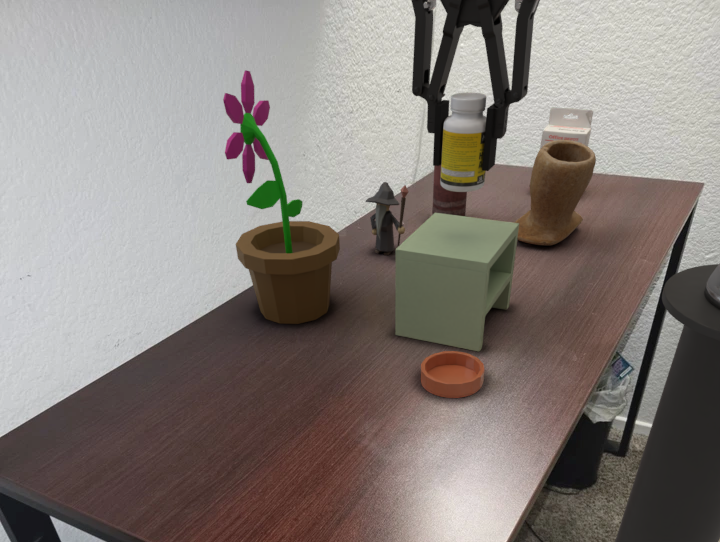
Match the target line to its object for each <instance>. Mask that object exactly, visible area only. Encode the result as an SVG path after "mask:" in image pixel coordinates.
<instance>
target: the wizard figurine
mask: <svg viewBox="0 0 720 542" xmlns="http://www.w3.org/2000/svg"><path fill="white" fill-rule="evenodd" d="M394 193H395V192H394V191H393V189H392V188H391V186H390V185H389V182H387V181H383V182H382V184H381V185H380V186H379V189H378V190H377V192H376V193H375V194H374V195H373V196H370V197H368V198H366V199H365V203H373V204H375V213H374V214H373V215H371V216H370V219H369V220H370V226H371V229H372V230H371V234H372V235H373V236H375V246H374V247H375V250H374V253H376V254H378V255H380V254H382V253H383V256H390V255H391V254H392V252H394V250H395V237H394V228H395V230H396V231H397V233H398V235H397V236H398V237H397V247H398V246H400V244H401V243H400V242H401V235H405V232H406V227H404V224H403V221H404V214H405V209H406V208H405V206H406V200H407V198H406V197H407V195H408V194H409V190H408V188H407V185H406V184H404V185H403V186H402V187H401V188H400V194H401V199H400V200H401V201H400V202H399V201H398V200H397V199H396V198H395V197H396V196H395V194H394ZM399 205H400V213H399V220H398V219H397V218H396V217H395V215H394V214H393V212H392V211H391V210H390V207H391V206H399ZM393 225H394V226H393ZM397 247H396V248H397Z"/></svg>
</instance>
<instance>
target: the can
mask: <svg viewBox="0 0 720 542" xmlns="http://www.w3.org/2000/svg"><path fill="white" fill-rule="evenodd" d="M440 179H441V165H440V166H433V187H432V188H433V189H432V210H431V211H432V212H431V213H432V214H431V216H432V215H433V214H434V213H442V214H450V215H457V216H465V217H466V211H467V210H466V209H467V198H468V192H454V191H449V190H446V189H444V188H443V187H442V186H441V184H440Z"/></svg>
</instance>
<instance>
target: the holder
mask: <svg viewBox="0 0 720 542" xmlns="http://www.w3.org/2000/svg"><path fill="white" fill-rule="evenodd" d="M484 378H485V365H484V363H483V361H481V359H480V358H478V357H477V356H476V355H473V354H470V353H469V352H464V351H460V350H459V351H458V350H444V351H439V352H434V353H432V354H430V355H428V356H426V357H425V358H424V359H423V360H422V362H421V363H420V384H421V386H422V387H423V388H424V390H426V391H427V392H428V393H430V394H432V395H435V396H436V397H441V398H447V399H459V398H461V399H462V398H465V397H469V396H473V395H474V394H476V393H477V392H479V391H480V390H481V388H482V387H483V384H484V381H485V380H484Z"/></svg>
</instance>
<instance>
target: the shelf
mask: <svg viewBox="0 0 720 542" xmlns="http://www.w3.org/2000/svg"><path fill="white" fill-rule="evenodd" d="M518 230H519V223H514V222H512V221H504V220H495V219H488V218H480V217H472V216H466V215H465V216H457V215H450V214H442V213H434V214H433V215H432V214H431V216H430V217H429V218H427V219H426V220H424V222H423V223H422V224H421V225H420V226H419V227H418V228H416V230H415V231H413V232H412V233H411V234H410V235H409V236H408V237H407V238H406V239H404V241H403V242H401V243H400V244H399V246H398V245H397V246H398V247H396V248H395V303H394V304H395V305H394V306H395V309H394V310H395V319H394V321H395V323H394V325H395V331H394V332H395V333H394V334H395V336H398V337H399V336H400V337H404V338H408V339H409V338H410V339H413V340H414V339H415V340H419V341H425V342H429V343H434V344H438V345H444V346H449V347H454V348H458V349H464V350H470V351H474V352H481V350H482V349H483V341H484V333H485V332H484V331H485V320H486V316H487V315H488V313H489V312H490V310H491V309H492V308H493V309H499V310H506V311H507V310H508V309H509V307H510V301H511V293H512V287H513V277H514V269H515V261H516V253H517V245H518V240H517V238H518Z"/></svg>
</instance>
